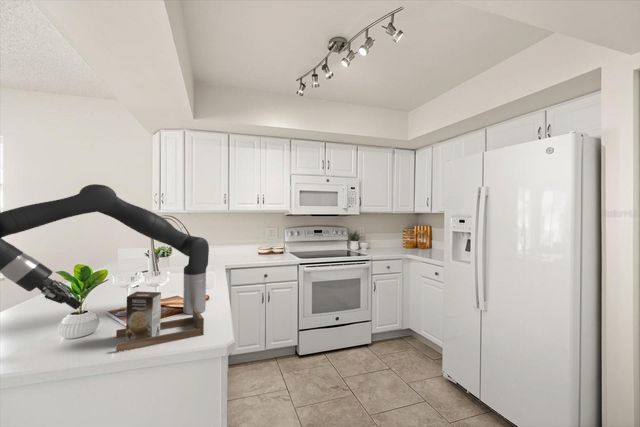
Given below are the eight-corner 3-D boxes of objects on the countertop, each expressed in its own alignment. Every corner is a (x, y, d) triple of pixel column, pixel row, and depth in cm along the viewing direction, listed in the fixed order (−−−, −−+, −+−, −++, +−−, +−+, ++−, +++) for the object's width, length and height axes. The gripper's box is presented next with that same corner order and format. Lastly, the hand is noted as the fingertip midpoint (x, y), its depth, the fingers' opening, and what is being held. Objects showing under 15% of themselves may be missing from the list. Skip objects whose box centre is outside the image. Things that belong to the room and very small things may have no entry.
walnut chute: (116, 336, 109) (116, 320, 108) (195, 322, 123) (195, 307, 123) (116, 352, 97) (116, 334, 97) (203, 334, 112) (203, 318, 112)
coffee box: (124, 343, 104) (125, 296, 104) (135, 335, 110) (135, 291, 110) (152, 343, 104) (152, 296, 104) (161, 335, 111) (161, 291, 110)
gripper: (33, 266, 86) (88, 302, 93) (43, 258, 97) (91, 292, 104) (7, 287, 83) (65, 323, 90) (20, 277, 94) (71, 310, 101)
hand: (79, 306), depth 97 cm, fingers closed
